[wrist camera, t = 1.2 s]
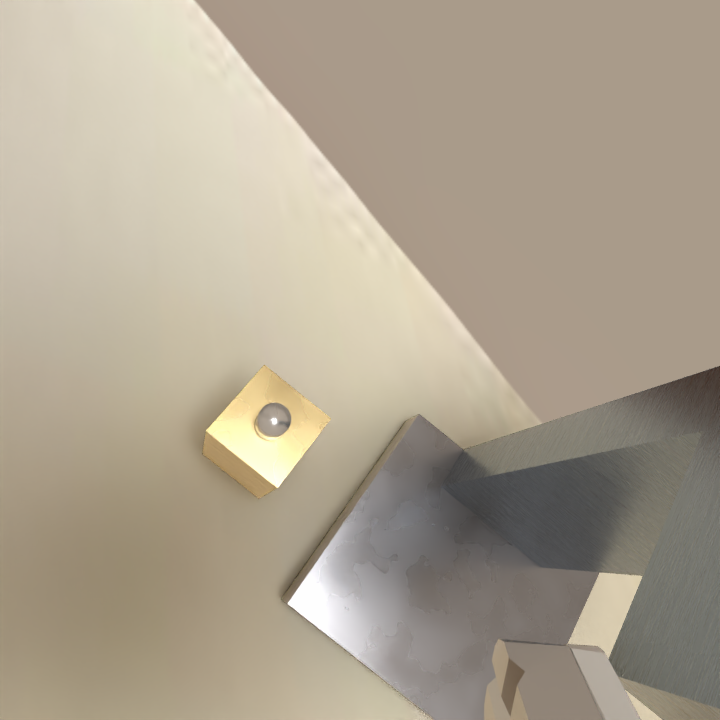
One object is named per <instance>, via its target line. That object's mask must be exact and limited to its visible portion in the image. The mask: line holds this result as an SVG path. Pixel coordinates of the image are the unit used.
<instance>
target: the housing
mask: <svg viewBox="0 0 720 720" xmlns="http://www.w3.org/2000/svg"><path fill="white" fill-rule="evenodd" d="M330 419H331V418H330V417H328V416H327V415H326V414H325V413H324V412H322V411H321V410H320V409H319V408H317V407H316V406H315V405H314V404H312V403H311V402H310V401H309V400H307V399H306V398H305V397H304V396H302V395H301V394H300V393H299V392H297V391H296V390H295V389H294V388H293V387H291V386H290V385H289V384H288V383H286V382H285V381H284V380H283V379H281V378H280V377H279V376H278V375H276V374H275V373H274V372H273V371H271V370H270V369H269V368H268V367H267V366H265V365H264V366H263V367H262V368H261V369H260V370H259V371H258V372H257V374H256V375H255V376H254V377H253V378H252V379H251V380H250V381H249V383H248V384H247V385H246V386H245V387H244V388H243V389H242V391H241V392H240V393H239V394H238V395H237V396H236V397H235V399H234V400H233V401H232V402H231V403H230V404H229V405H228V406H227V408H226V409H225V410H224V411H223V412H222V413H221V414H220V416H219V417H218V418H217V419H216V420H215V421H214V422H213V424H212V425H211V426H210V427H209V428H208V429H207V430H206V434H205V440H204V446H203V452H202V454H203V455H204V456H206V457H207V458H208V459H209V460H211V461H212V462H213V463H214V464H216V465H217V466H218V467H220V468H221V469H222V470H223V471H225V472H226V473H227V474H228V475H230V476H231V477H232V478H233V479H235V480H236V481H237V482H238V483H240V484H241V485H242V486H243V487H245V488H246V489H247V490H248V491H250V492H251V493H252V494H253V495H255V496H256V497H257V498H258V499H259V498H261V497H263V496H265V495H266V494H268V493H270V492H272V491H273V490H275V489H277V488H278V487H279V486H280V484H281V483H282V482H283V480H284V479H285V478H286V476H287V475H288V474H289V473H290V471H291V470H292V469H293V467H294V466H295V465H296V464H297V462H298V461H299V460H300V458H301V457H302V456H303V454H304V453H305V452H306V451H307V449H308V448H309V447H310V445H311V444H312V443H313V442H314V440H315V439H316V438H317V436H318V435H319V434H320V432H321V431H322V430H323V429H324V427H325V426H326V425H327V423H328V422H329V421H330Z"/></svg>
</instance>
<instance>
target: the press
mask: <svg viewBox="0 0 720 720" xmlns="http://www.w3.org/2000/svg"><path fill="white" fill-rule="evenodd" d="M599 572H603V573H616V574H628V575H641V576H643V577H642V580H641V582H640V584H639V587H638V589H637V592H636V594H635V596H634V599H633V601H632V604H631V606H630V609H629V611H628V613H627V616H626V618H625V621H624V623H623V626H622V628H621V630H620V633H619V635H618V638H617V640H616V642H615V645H614V647H613V650H612V652H611V655H610V657H609V659H608V660H609V661H610V663H611V665H612V667H613V669H614V671H615V673H616V674H617V676H618V678H619V680H620V682H621V684H622V685H623V687H624V689H625V690H627V691H628V692H629V693H630V694H632V695H633V696H634V697H635V698H637V699H638V700H639V701H640V702H641V703H643V704H644V705H645V706H646V707H648V708H649V709H650V710H651V711H653V712H654V713H655V714H656V715H658V716H659V717H660V718H661V719H663V720H720V366H719V367H715V368H712V369H709V370H706V371H703V372H700V373H697V374H694V375H691V376H687V377H684V378H682V379H678V380H675V381H672V382H669V383H666V384H663V385H660V386H657V387H654V388H651V389H648V390H645V391H642V392H639V393H635V394H632V395H629V396H626V397H623V398H620V399H617V400H614V401H611V402H608V403H605V404H602V405H599V406H596V407H593V408H590V409H587V410H584V411H580V412H577V413H575V414H571V415H568V416H565V417H562V418H559V419H556V420H553V421H550V422H547V423H544V424H541V425H538V426H535V427H532V428H528V429H525V430H522V431H519V432H516V433H513V434H510V435H507V436H504V437H501V438H498V439H495V440H492V441H489V442H486V443H483V444H480V445H476V446H473V447H470V448H467V449H464V450H463V449H462V448H460V447H459V446H458V445H457V444H456V443H454V442H453V441H452V440H451V439H449V438H448V437H447V436H446V435H444V434H443V433H442V432H441V431H440V430H438V429H437V428H436V427H435V426H433V425H432V424H431V423H430V422H428V421H427V420H426V419H425V418H424V417H422V416H421V415H420V414H418V415H416V416H414V417H412V418H410V419H409V420H407V421H405V423H404V424H403V425H402V427H401V428H400V430H399V431H398V433H397V434H396V435H395V437H394V438H393V440H392V441H391V443H390V444H389V445H388V447H387V448H386V450H385V451H384V453H383V454H382V455H381V457H380V458H379V460H378V461H377V463H376V464H375V466H374V467H373V468H372V470H371V471H370V473H369V474H368V476H367V477H366V478H365V480H364V481H363V483H362V484H361V486H360V487H359V488H358V490H357V491H356V493H355V494H354V496H353V497H352V498H351V500H350V501H349V503H348V504H347V506H346V507H345V508H344V510H343V511H342V513H341V514H340V516H339V517H338V518H337V520H336V521H335V523H334V524H333V526H332V527H331V528H330V530H329V531H328V533H327V534H326V536H325V537H324V538H323V540H322V541H321V543H320V544H319V546H318V547H317V548H316V550H315V551H314V553H313V554H312V556H311V557H310V558H309V560H308V561H307V563H306V564H305V566H304V567H303V568H302V570H301V571H300V573H299V574H298V576H297V577H296V578H295V580H294V581H293V583H292V584H291V586H290V587H289V588H288V590H287V591H286V593H285V594H284V596H283V597H282V599H281V600H282V601H284V602H285V603H286V604H287V605H289V606H290V607H291V608H293V609H294V610H295V611H296V612H298V613H299V614H300V615H301V616H303V617H304V618H305V619H306V620H308V621H309V622H310V623H312V624H313V625H314V626H315V627H317V628H318V629H319V630H320V631H322V632H323V633H324V634H325V635H327V636H328V637H329V638H331V639H332V640H333V641H334V642H336V643H337V644H338V645H339V646H341V647H342V648H343V649H344V650H346V651H347V652H348V653H350V654H351V655H352V656H353V657H355V658H356V659H357V660H358V661H360V662H361V663H362V664H363V665H365V666H366V667H367V668H369V669H370V670H371V671H372V672H374V673H375V674H376V675H377V676H379V677H380V678H381V679H382V680H384V681H385V682H386V683H388V684H389V685H390V686H391V687H393V688H394V689H395V690H396V691H398V692H399V693H400V694H401V695H403V696H404V697H405V698H407V699H408V700H409V701H410V702H412V703H413V704H414V705H415V706H417V707H418V708H419V709H421V710H422V711H423V712H424V713H426V714H427V715H428V716H429V717H431V718H432V719H433V720H484V703H485V696H486V690H487V685H488V684H489V683H490V682H491V681H492V680H493V679H494V678H496V675H495V671H494V667H493V663H492V657H493V652H494V647H495V645H496V643H497V641H498V639H508V640H519V641H530V642H541V643H552V644H561V645H564V644H567V643H568V641H569V639H570V637H571V634H572V632H573V630H574V628H575V625H576V623H577V621H578V619H579V617H580V614H581V612H582V610H583V608H584V606H585V603H586V601H587V599H588V597H589V594H590V592H591V590H592V588H593V586H594V583H595V581H596V579H597V577H598V574H599Z"/></svg>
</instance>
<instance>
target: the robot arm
mask: <svg viewBox="0 0 720 720" xmlns="http://www.w3.org/2000/svg"><path fill="white" fill-rule="evenodd" d="M492 663H493V667H494V671H495V675H496V678H494V679H493V680H492V681H491V682H490V683H489V684H488V685H487V690H486V696H485V703H484V720H641V719H640V717H639V715H638V713H637V711H636V709H635V708H634V706H633V704H632V702H631V700H630V698H629V697H628V695H627V693H626V691H625V689H624V687H623V685H622V684H621V682H620V680H619V678H618V676H617V674H616V673H615V671H614V669H613V667H612V665H611V663H610V661H609V660H608V658H607V656H606V654H605V652H604V651H603V650H602V649H601V648H599V647H598V646H587V645H574V644H564V645H561V644H552V643H541V642H530V641H519V640H508V639H498V641H497V643H496V645H495V647H494V652H493V657H492Z"/></svg>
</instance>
